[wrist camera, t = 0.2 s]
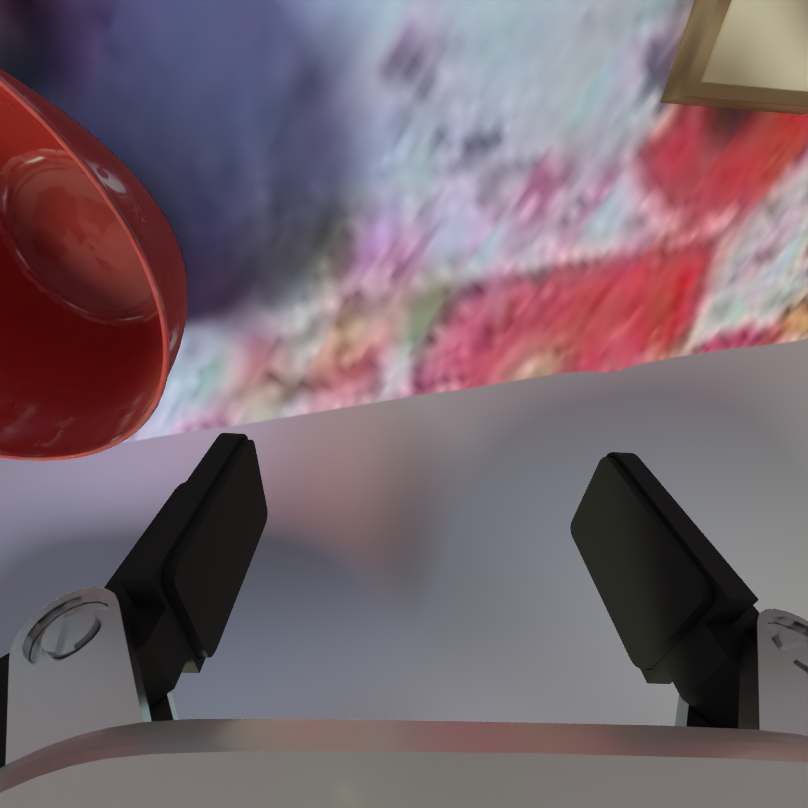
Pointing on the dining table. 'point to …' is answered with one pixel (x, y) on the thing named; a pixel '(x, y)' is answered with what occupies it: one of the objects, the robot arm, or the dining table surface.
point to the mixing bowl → (78, 287)
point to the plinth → (743, 56)
